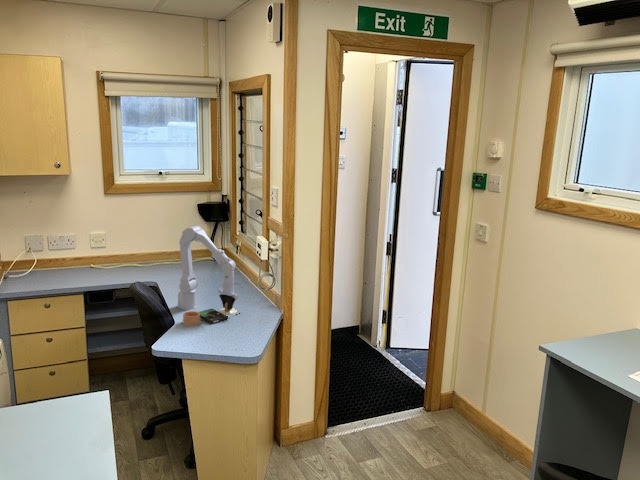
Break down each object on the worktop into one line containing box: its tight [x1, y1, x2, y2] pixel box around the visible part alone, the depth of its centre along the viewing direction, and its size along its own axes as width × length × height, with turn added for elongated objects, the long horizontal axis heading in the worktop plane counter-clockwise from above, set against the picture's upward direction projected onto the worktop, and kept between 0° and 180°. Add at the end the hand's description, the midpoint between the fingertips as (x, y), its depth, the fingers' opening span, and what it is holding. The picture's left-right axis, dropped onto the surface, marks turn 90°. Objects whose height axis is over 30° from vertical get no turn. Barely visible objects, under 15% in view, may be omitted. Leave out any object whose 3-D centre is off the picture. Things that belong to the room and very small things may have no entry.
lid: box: [217, 303, 238, 315], centre depth 266 cm, size 10×10×5 cm
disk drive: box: [198, 308, 229, 325], centre depth 257 cm, size 10×3×15 cm
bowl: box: [182, 310, 201, 327], centre depth 250 cm, size 8×8×4 cm
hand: (227, 308), depth 266 cm, fingers open, 3 cm apart
